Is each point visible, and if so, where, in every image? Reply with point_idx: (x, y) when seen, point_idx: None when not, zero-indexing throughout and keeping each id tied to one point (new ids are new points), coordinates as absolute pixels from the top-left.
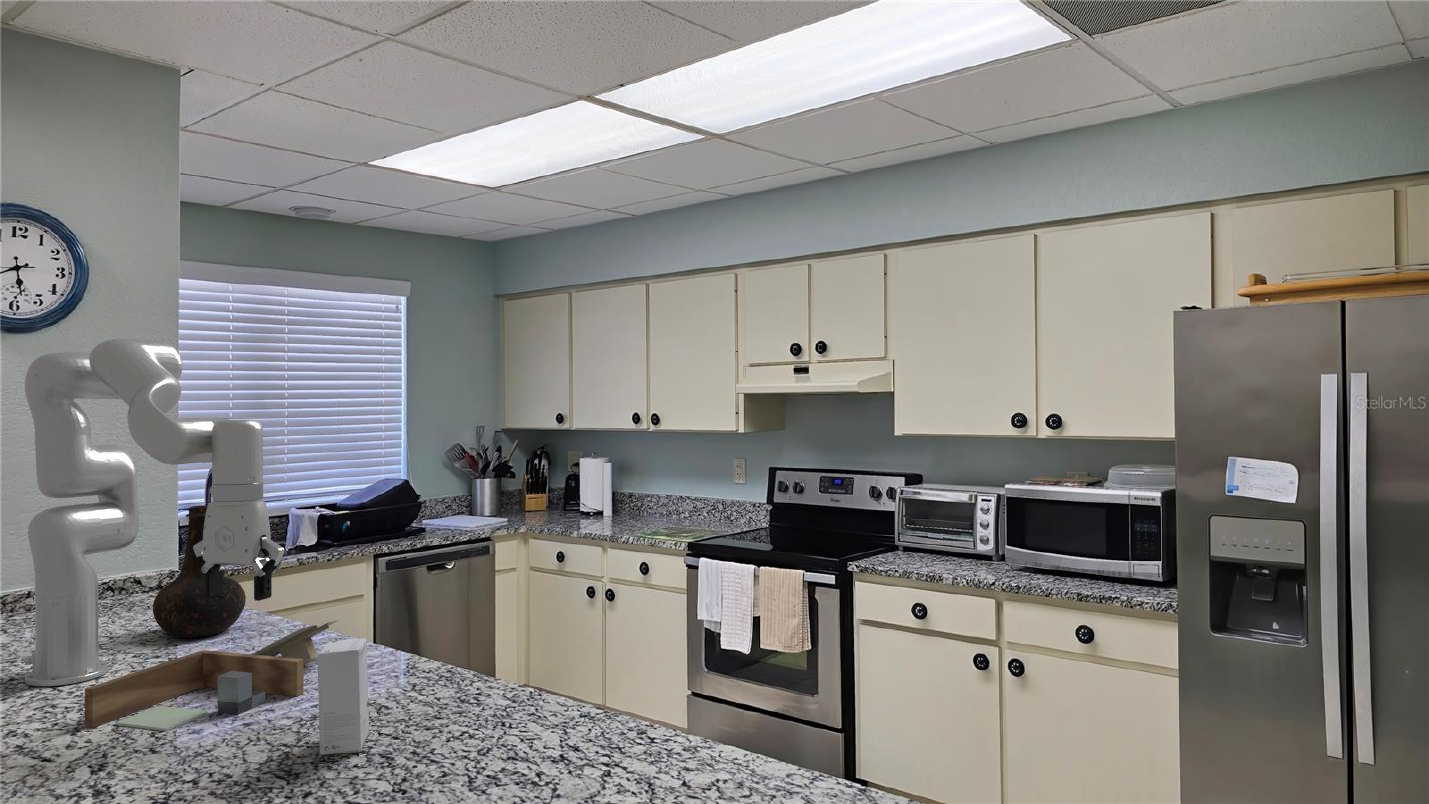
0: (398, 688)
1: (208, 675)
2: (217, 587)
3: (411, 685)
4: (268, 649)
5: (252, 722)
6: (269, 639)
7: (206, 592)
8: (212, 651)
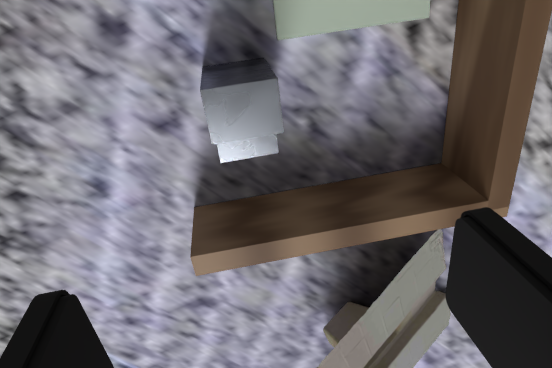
0: None
1: (441, 177)
2: (479, 303)
3: None
4: (407, 307)
5: (114, 42)
6: None
7: (500, 225)
8: None
